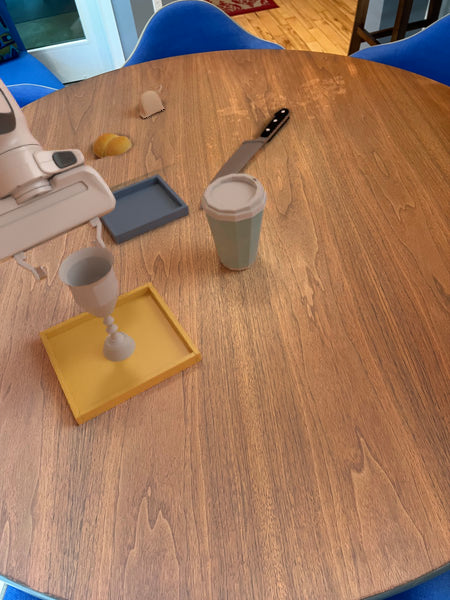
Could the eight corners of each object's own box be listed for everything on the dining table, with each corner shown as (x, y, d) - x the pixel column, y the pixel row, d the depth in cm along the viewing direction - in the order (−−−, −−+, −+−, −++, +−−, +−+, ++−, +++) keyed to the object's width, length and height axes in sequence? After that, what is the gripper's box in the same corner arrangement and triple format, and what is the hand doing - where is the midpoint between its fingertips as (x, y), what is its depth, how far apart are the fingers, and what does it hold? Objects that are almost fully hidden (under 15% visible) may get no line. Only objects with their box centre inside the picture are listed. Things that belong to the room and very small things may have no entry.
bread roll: (120, 165, 109) (115, 150, 106) (89, 157, 112) (84, 141, 109) (140, 147, 113) (137, 131, 110) (110, 139, 117) (106, 124, 114)
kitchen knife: (185, 209, 98) (183, 200, 96) (272, 114, 120) (271, 106, 118) (207, 214, 95) (205, 204, 94) (292, 116, 117) (291, 107, 116)
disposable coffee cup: (228, 288, 82) (222, 219, 70) (197, 253, 88) (186, 185, 77) (278, 262, 85) (280, 193, 74) (245, 230, 91) (242, 162, 80)
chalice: (120, 374, 71) (85, 294, 57) (87, 355, 74) (46, 274, 60) (150, 340, 75) (125, 257, 61) (118, 323, 78) (87, 239, 64)
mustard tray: (79, 425, 67) (75, 418, 65) (42, 340, 77) (38, 332, 75) (201, 360, 72) (200, 352, 71) (152, 289, 83) (150, 281, 81)
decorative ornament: (135, 114, 124) (131, 94, 120) (162, 102, 127) (158, 82, 123) (144, 119, 122) (139, 99, 118) (170, 108, 125) (167, 87, 121)
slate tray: (117, 244, 91) (115, 236, 90) (92, 208, 99) (89, 200, 98) (189, 214, 96) (188, 206, 94) (159, 181, 104) (158, 173, 102)
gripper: (-54, 203, 62) (2, 297, 64) (90, 145, 69) (136, 231, 71) (-47, 213, 67) (5, 299, 69) (85, 159, 75) (128, 238, 77)
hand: (72, 264), depth 70 cm, fingers open, 8 cm apart
